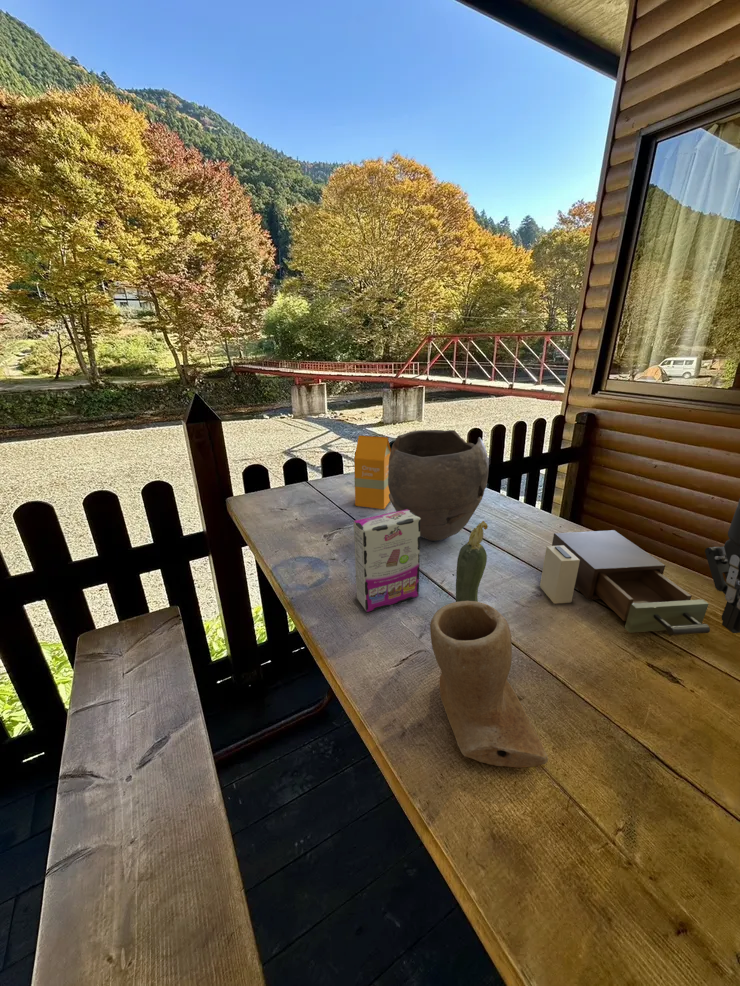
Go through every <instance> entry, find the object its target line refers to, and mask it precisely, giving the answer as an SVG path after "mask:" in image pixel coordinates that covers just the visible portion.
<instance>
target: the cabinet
mask: <svg viewBox="0 0 740 986" xmlns="http://www.w3.org/2000/svg"><path fill="white" fill-rule="evenodd" d="M561 545H564V546H565V547H566V548H567V549H568V550H569V551H570V552H572V553H573V554H574V555H575V556H576V557H577V558H578V559H579V560H580V562H579V567H578V572H577V577H576V582H575V587H574V588H576V589H577V590H578V591H579V592H580V594H582V595H583V596H584V597H585V598H586V599H587V601H592V600H602V599H601V598H600V597H599V596H598V595H597V594H596V593H595V592H594V589H595V584H596V580H597V575H598V573H601V572H619V571H637V570H657V571H658V572H660V573H661V574H662V575H664V572H665V568H666V564H664V563H663V562H661V561H660V560H658V559H657V558H656V557H654V556H652V555H651V554H650V553H648V552H647V551H645V550H644V549H642V548H641V547H640V546H638V545H637V544H635V543H634V542H633V541H631V540H629V539H628V538H626V537H625V536H624V535H622V534H620V533H619V532H618V531H616V530H615V529H611V530H591V531H589V530H587V531H568V532H554V533H553V538H552V543H551V546H561Z"/></svg>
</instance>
